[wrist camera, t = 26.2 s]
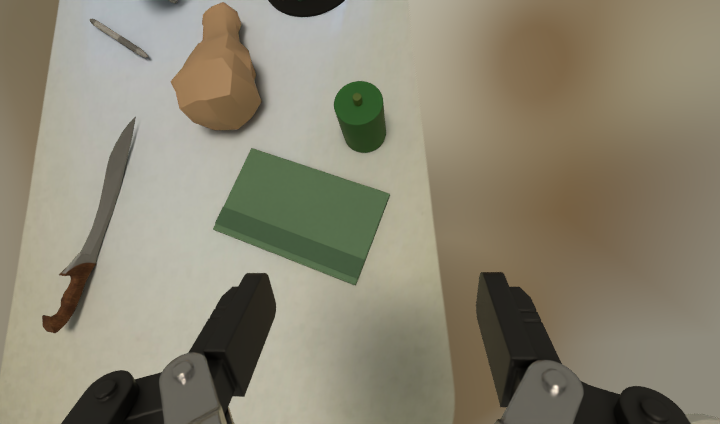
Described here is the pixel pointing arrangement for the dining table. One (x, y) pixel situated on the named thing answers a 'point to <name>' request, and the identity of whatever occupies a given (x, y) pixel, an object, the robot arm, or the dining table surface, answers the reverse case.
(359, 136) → the green knobbed canister
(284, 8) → the phone display stand
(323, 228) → the towel
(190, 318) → the dining table surface
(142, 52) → the pen
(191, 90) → the squash
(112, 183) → the knife
